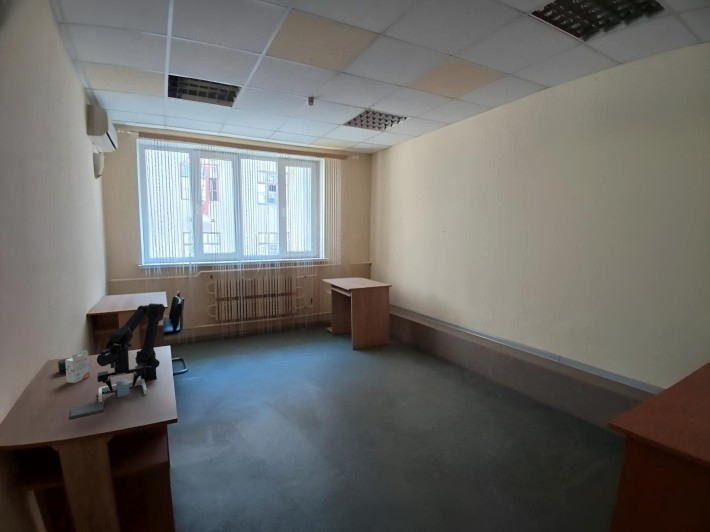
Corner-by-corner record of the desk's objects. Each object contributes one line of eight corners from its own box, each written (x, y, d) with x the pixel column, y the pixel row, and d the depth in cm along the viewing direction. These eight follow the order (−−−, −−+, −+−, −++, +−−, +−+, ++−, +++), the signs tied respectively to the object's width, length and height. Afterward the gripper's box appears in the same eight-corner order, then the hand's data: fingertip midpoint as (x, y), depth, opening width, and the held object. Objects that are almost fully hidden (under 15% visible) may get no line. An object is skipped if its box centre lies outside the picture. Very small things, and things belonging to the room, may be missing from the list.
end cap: (59, 375, 185) (58, 363, 184) (57, 371, 190) (57, 359, 189) (83, 370, 192) (82, 358, 192) (81, 367, 197) (80, 355, 196)
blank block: (127, 388, 171) (127, 378, 171) (129, 394, 165) (128, 384, 164) (116, 391, 168) (116, 381, 168) (117, 397, 162) (117, 387, 162)
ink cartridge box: (82, 375, 185) (80, 348, 184) (90, 376, 184) (88, 349, 183) (66, 382, 177) (64, 354, 175) (74, 383, 176) (72, 354, 174)
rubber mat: (103, 403, 156) (103, 401, 156) (103, 411, 149) (103, 408, 149) (71, 410, 149) (71, 408, 149) (70, 418, 143) (70, 416, 143)
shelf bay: (144, 383, 177) (143, 378, 177) (146, 394, 166) (146, 389, 165) (99, 392, 166) (98, 387, 166) (98, 404, 155) (98, 399, 155)
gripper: (142, 350, 177) (143, 380, 179) (97, 357, 166) (98, 389, 168) (144, 356, 168) (146, 388, 170) (96, 364, 157) (98, 398, 159)
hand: (122, 390), depth 167 cm, fingers open, 8 cm apart
